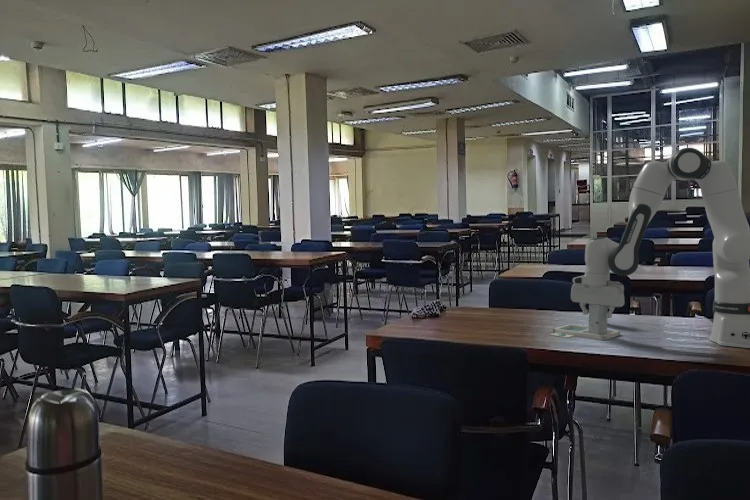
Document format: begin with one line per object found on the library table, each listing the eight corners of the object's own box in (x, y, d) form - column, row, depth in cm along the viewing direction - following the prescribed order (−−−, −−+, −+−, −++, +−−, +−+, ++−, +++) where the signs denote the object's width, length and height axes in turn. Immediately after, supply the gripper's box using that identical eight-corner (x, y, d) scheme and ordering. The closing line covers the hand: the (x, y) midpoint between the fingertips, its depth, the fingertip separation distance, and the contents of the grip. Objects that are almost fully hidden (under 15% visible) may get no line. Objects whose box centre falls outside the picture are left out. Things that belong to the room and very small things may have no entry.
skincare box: (587, 334, 227) (587, 303, 226) (597, 333, 228) (597, 302, 227) (598, 337, 221) (598, 305, 220) (608, 336, 222) (608, 304, 221)
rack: (620, 334, 224) (620, 331, 224) (596, 342, 213) (596, 338, 213) (570, 327, 240) (570, 324, 240) (545, 334, 229) (545, 330, 229)
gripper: (628, 281, 217) (627, 318, 218) (577, 277, 233) (577, 311, 234) (619, 282, 213) (619, 320, 214) (568, 278, 229) (568, 313, 230)
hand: (596, 316), depth 224 cm, fingers open, 8 cm apart
